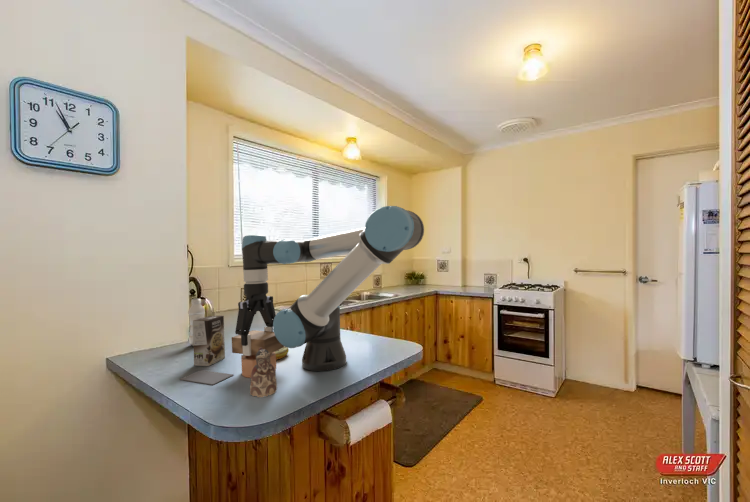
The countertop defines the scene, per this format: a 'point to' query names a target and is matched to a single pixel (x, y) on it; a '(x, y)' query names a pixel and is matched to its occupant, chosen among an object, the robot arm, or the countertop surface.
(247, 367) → the bowl
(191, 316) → the plastic bottle
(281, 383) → the countertop surface
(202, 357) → the coffee box
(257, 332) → the brown wooden block
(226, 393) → the countertop surface
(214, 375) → the mat
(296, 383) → the countertop surface
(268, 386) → the figurine
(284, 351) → the decorated donut
